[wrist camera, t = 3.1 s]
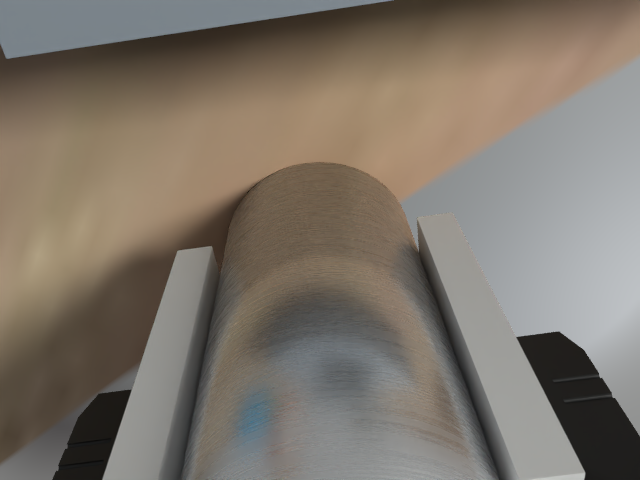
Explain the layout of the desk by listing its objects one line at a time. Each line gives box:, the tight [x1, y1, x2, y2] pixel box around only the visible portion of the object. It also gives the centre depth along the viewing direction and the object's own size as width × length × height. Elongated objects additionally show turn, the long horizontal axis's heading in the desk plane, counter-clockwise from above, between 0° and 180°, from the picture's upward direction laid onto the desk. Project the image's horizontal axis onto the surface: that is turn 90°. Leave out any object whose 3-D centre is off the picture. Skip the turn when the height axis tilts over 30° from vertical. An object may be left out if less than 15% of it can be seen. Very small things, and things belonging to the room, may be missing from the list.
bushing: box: [180, 162, 500, 480], centre depth 10 cm, size 4×4×11 cm
